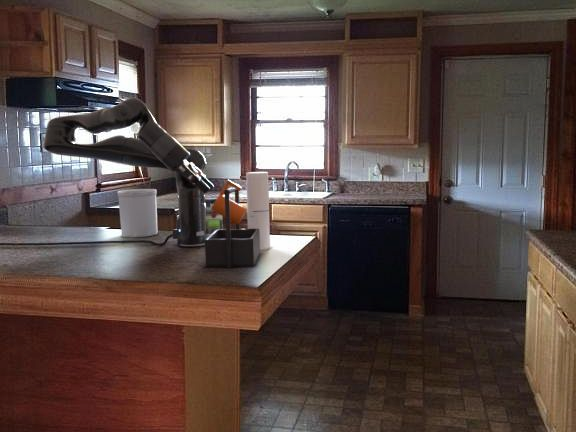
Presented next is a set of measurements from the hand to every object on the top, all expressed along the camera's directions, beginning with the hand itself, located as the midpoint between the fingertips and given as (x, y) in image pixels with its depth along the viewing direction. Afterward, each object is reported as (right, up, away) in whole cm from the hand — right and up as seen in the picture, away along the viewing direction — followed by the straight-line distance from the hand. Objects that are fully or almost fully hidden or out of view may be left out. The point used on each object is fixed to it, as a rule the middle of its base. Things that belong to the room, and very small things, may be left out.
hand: (209, 190), depth 188 cm
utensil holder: (-35, -15, +62) cm, 73 cm away
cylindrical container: (+14, -18, +23) cm, 33 cm away
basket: (+7, -21, +2) cm, 22 cm away
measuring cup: (+11, -6, 0) cm, 12 cm away
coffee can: (-7, -15, +59) cm, 62 cm away
